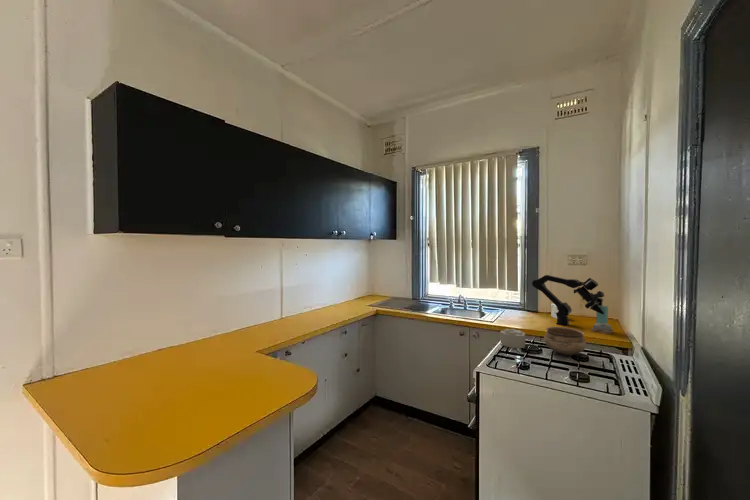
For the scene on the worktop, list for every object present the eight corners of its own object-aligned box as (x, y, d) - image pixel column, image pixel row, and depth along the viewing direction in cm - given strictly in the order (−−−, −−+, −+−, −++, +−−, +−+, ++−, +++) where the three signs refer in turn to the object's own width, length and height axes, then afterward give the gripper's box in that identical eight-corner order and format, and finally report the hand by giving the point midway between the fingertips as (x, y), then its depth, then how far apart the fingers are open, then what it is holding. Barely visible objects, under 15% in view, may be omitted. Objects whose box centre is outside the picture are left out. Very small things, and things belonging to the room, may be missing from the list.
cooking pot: (584, 365, 149) (585, 340, 149) (540, 357, 160) (540, 333, 160) (586, 350, 169) (587, 328, 169) (547, 344, 181) (547, 323, 180)
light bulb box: (567, 319, 238) (567, 306, 238) (558, 319, 238) (558, 306, 238) (559, 316, 249) (559, 303, 249) (550, 316, 249) (550, 303, 249)
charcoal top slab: (593, 328, 207) (593, 324, 207) (596, 326, 212) (596, 322, 212) (607, 331, 201) (607, 327, 201) (611, 328, 206) (611, 325, 206)
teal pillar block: (596, 322, 207) (596, 306, 206) (598, 321, 210) (599, 305, 210) (605, 324, 203) (605, 307, 203) (607, 322, 206) (608, 306, 206)
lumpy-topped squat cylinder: (523, 349, 172) (524, 333, 172) (499, 345, 179) (499, 330, 179) (525, 344, 181) (525, 329, 181) (501, 340, 188) (501, 326, 188)
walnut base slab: (590, 332, 207) (590, 328, 207) (595, 329, 213) (595, 326, 213) (608, 335, 199) (608, 331, 199) (613, 332, 206) (613, 329, 206)
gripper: (590, 288, 203) (611, 308, 195) (600, 286, 215) (619, 304, 206) (577, 298, 209) (596, 318, 201) (586, 295, 221) (605, 314, 213)
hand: (604, 313), depth 205 cm, fingers closed on teal pillar block, 5 cm apart
